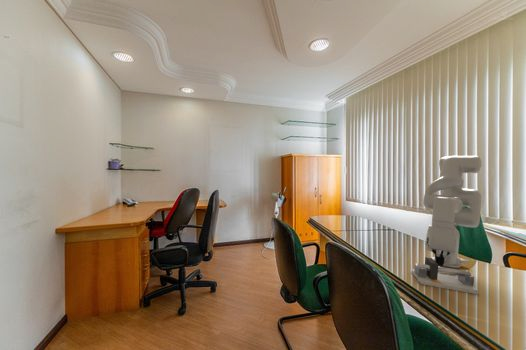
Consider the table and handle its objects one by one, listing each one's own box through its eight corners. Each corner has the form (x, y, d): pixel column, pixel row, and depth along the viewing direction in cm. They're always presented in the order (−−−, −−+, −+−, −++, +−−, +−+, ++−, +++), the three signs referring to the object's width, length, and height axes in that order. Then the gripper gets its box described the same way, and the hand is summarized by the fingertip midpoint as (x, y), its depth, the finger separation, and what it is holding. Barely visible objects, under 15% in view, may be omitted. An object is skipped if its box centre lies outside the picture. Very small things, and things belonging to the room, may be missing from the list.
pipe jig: (461, 280, 101) (462, 265, 100) (478, 294, 89) (479, 277, 89) (411, 271, 106) (412, 258, 106) (421, 283, 95) (422, 268, 95)
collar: (430, 272, 102) (431, 258, 102) (437, 279, 95) (438, 264, 95) (424, 271, 103) (425, 257, 103) (430, 278, 96) (432, 263, 96)
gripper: (458, 224, 99) (454, 264, 99) (419, 220, 103) (416, 258, 104) (468, 228, 92) (464, 271, 92) (426, 224, 96) (423, 265, 97)
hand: (439, 264), depth 98 cm, fingers closed
